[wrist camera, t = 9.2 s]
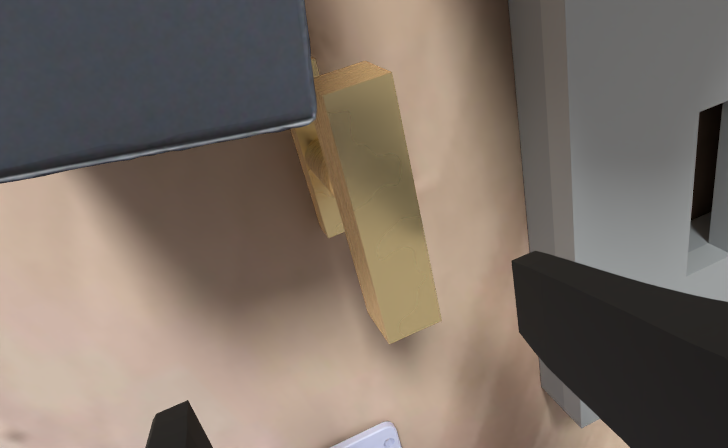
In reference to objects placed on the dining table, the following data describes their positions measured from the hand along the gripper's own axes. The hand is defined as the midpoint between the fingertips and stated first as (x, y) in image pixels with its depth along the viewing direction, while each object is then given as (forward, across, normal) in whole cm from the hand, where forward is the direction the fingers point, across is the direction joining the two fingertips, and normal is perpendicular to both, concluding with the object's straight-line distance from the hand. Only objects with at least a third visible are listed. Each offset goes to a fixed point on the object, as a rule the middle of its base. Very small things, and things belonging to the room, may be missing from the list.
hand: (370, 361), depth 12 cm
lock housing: (+9, -17, +5) cm, 20 cm away
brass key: (+9, -2, -1) cm, 9 cm away
